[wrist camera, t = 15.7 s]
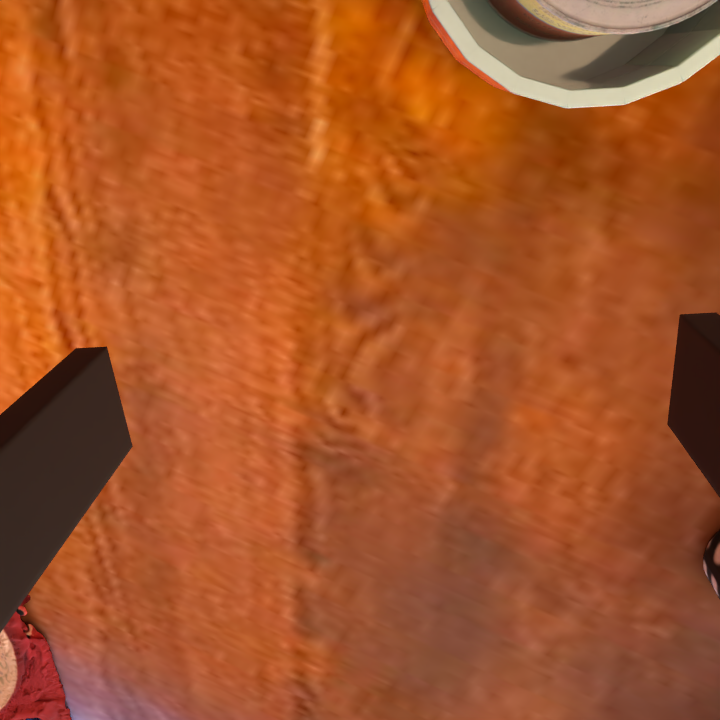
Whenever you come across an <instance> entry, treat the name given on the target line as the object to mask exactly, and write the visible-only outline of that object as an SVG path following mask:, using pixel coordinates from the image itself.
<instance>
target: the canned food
mask: <svg viewBox="0 0 720 720" xmlns="http://www.w3.org/2000/svg"><path fill="white" fill-rule="evenodd" d="M716 1H718V0H487V2H488V3H489V5H490V6H491V7H492V9H493V10H494V11H495V12H496V13H497V14H498V15H499V16H500V17H501V18H502V19H503V20H504V21H505V22H507V23H508V24H509V25H511V26H512V27H514V28H515V29H517V30H519V31H521V32H522V33H525V34H527V35H529V36H532V37H535V38H538V39H543V40H548V41H558V42H566V41H577V40H583V39H587V38H591V37H594V36H600V35H607V34H635V33H642V32H649V31H653V30H657V29H662V28H665V27H668V26H671V25H673V24H676V23H679V22H681V21H683V20H685V19H688V18H690V17H692V16H694V15H695V14H697V13H699V12H701V11H703V10H704V9H706V8H707V7H709V6H710V5H712V4H713V3H715V2H716Z"/></svg>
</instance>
